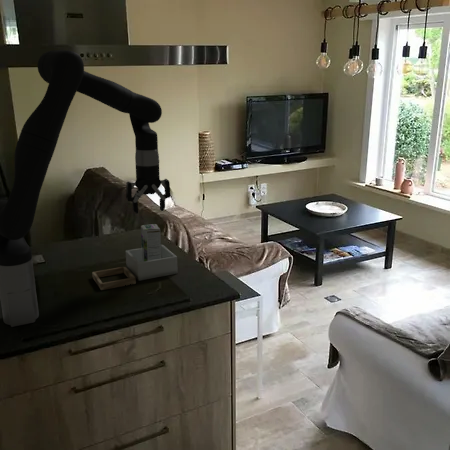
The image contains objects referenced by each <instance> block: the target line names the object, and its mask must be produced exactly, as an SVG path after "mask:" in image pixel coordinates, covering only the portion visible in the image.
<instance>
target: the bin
mask: <svg viewBox="0 0 450 450" xmlns="http://www.w3.org/2000/svg"><path fill="white" fill-rule="evenodd" d="M125 263H126V265H125V267H126V268H127V269H128V270H129V271H130V272H131V273H132V274H133V276H134V277H135V278H136V280H137V281H144V280H149V279H154V278H160V277H161V278H162V277H165V276H170V275H176V274H177V275H178V272H179V271H178V270H179V269H178V256H177V255H176V254H175V253H173V252H172V251H171V250H170V249H168V247H167V246H165V245H164V244H161V259H156V260H150V261H144V262H142V250H141V248H133V249H132V248H131V249H126V250H125Z"/></svg>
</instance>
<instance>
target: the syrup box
mask: <svg viewBox="0 0 450 450" xmlns="http://www.w3.org/2000/svg"><path fill="white" fill-rule="evenodd" d="M140 239H141V241H140V242H141V243H140V244H141V245H140V247H141V250H142V262H144V261H150V260H156V259H161V245H162V243H161V240H162V239H161V228H160V227H159V226H158V224H156V223H154V224H153V223H152V224H151V223H150V224H143V225H140Z"/></svg>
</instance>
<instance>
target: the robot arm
mask: <svg viewBox="0 0 450 450" xmlns="http://www.w3.org/2000/svg"><path fill="white" fill-rule="evenodd" d="M84 65H85V64H84V61H83V59H82V57H81V55H80V54H79V53H77V52H75V50H74V51H73V50H69V49H68V50H67V49H66V50H65V49H54V50H52V49H51V50H49V51H45V52H44V53H42V55H40V57H39V58H38V61H37V71H38V74H39V76H40V78H41V79H43V81H44V82H46V83H47V84H48V85H47V88H46V91H45V94H44V96H43V99H42V100H41V101H40V103H39V104H38V105H37V107H36V108H35V109H34V111H32V113H30V115H29V117H28V118H27V120H26V121H25V122H24V124H23V126H22V129H21V130H20V131H21V132H19V136H18V139H17V142H16V145H15V150H14V160H13V161H14V178H13V179H14V180H13V185H12V188H11V191H10V194H9V196H8V199H0V306H1V311H2V320H3V323H4V324H5V325H9V326H10V327H11V328H13V327H18V326H23V325H24V326H25V325H29V324H32V323H35V322H36V320H37V319H39V317H40V313H39V303H38V297H37V290H36V289H37V287H36V279H35V272H34V263H33V255H32V248H31V246H30V245H28V242H27V241H26V239H25V237H26V236H27V234H28V233H29V232H30V231H31V228H32V227H33V222H34V219H35V215H36V211H37V207H38V201H39V198H40V193H41V190H42V187H43V185H44V182H45V178H46V175H47V173H48V169H49V166H50V163H51V161H52V158H53V155H54V154H55V153H54V152H55V150H56V147H57V145H58V140H59V137H60V134H61V131H62V128H63V126H64V124H65V120H66V118H67V117H66V116H67V115H68V112H69V109H70V107H71V104H72V101H73V100H74V98H75V95H76V93H79V94H82V95H85V96H87V97H88V98H89V97H90V98H91V99H93V100H96V101H97V102H100V103H101V104H104V105H106V106H107V107H110V108H111V109H114V110H117V111H119V112H121V113H124V114H129V116H128V117H129V119H130V125H131V127H132V131H133V134H134V137H135V139H134V141H135V153H134V154H135V156H134V157H135V158H134V159H135V160H134V161H135V163H134V164H135V182H130V181H127V182H126V187H125V188H126V189H125V190H126V192H125V196H126V197H125V199H126V200H127V201H128V202H131V203H132V204H131V206H132V212H134V213H135V214H139V202H138V201H139V199H140V198H141V197H142V195H154V194H155V193H156V195H157V196H158V197H159V211H161V212H164V210H165V209H166V200H167V199H170V198H171V197H172V196H171V195H172V194H171V185H170V184H171V182H170V180H168V179H167V178H164V179H162V180H161V179H160V156H159V155H160V154H159V148H158V147H159V144H158V143H159V141H158V140H159V139H158V133H157V132H156V131H155V130H153V129H152V128H151V126H150V123H151V124H154V123H156V122H158V121H159V120H160V119H161V117H162V116H163V115H162V114H163V111H162V107H161V105H160V104H159V102H158V101H157V100H155V99H153V98H150V97H148V96H145V95H143V94H140V93H136V92H134V91H132V90H131V89H128V88H127V87H125V86H123V85H121V84H119V83H118V82H116V81H113V80H110V79H106V78H103V77H101V76H98V75H95V74H93V73H90V72H88V71H86V70H85V66H84ZM161 186H163V187H164V188H163V189H164V194H163V192H161V190H160V189H159V188H160V187H161ZM134 187H136V188H137V190H136V191H135V193H134V194H133V193H132V190H133V189H134ZM132 195H133V196H132Z"/></svg>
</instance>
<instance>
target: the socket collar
mask: <svg viewBox="0 0 450 450" xmlns="http://www.w3.org/2000/svg"><path fill="white" fill-rule="evenodd" d="M120 274H121V275H122V274H124V275H125V276H126V277H127V278H123V279H117V280H112V281H105V282H103V281H102V280H101V279H100V278H104V277H109V276H115V275H120ZM91 275H92V279H93V280H94V282H95V283H96V285H97V287H98V288H99V289H100V291H105V290H111V289H116V288H120V287H125V285H126V286H130V284H131V285H135V284H136V283H137V281H136V280H137V278H136V277H135V276H134V275H133V274H132V272H131V271H130V270H129V269H128V268H127V266H126V265H125V266H119V267H114V268H108V269H107V268H106V269H101V270H97V271H92V273H91Z"/></svg>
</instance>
